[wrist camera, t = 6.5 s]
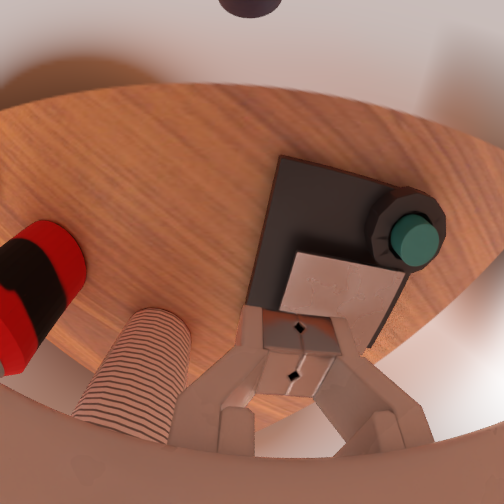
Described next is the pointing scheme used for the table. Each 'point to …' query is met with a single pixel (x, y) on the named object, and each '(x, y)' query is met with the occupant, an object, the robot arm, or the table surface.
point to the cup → (140, 378)
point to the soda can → (35, 289)
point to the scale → (333, 225)
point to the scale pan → (341, 291)
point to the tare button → (414, 240)
